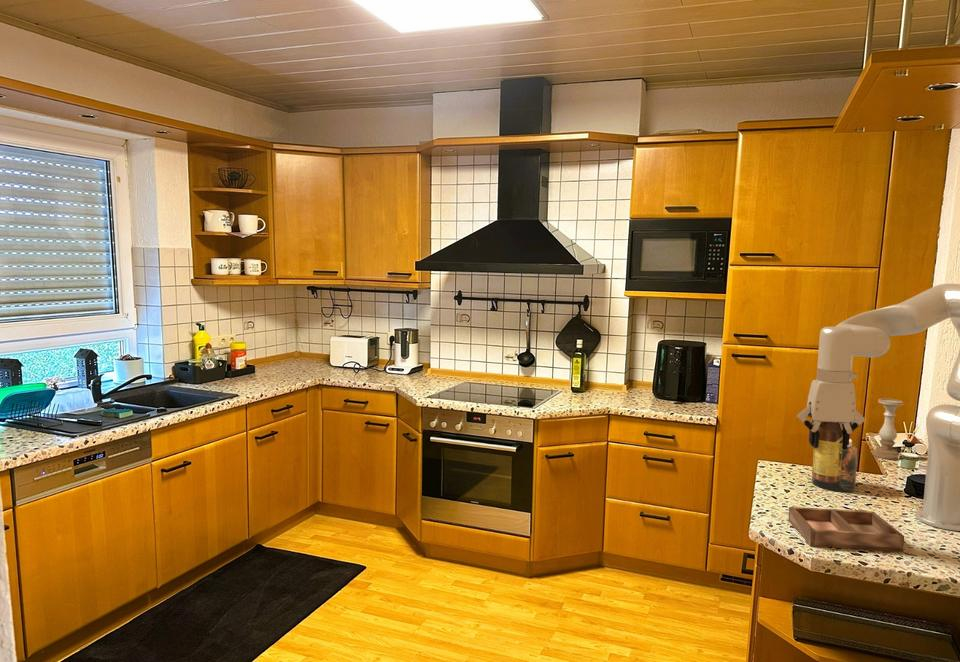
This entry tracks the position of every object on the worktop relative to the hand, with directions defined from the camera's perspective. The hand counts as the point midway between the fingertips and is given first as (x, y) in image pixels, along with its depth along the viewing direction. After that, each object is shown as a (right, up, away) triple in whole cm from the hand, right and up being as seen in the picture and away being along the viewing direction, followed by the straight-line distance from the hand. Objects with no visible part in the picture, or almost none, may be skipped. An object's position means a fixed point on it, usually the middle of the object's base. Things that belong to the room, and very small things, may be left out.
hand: (828, 446), depth 158 cm
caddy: (+4, -23, +1) cm, 23 cm away
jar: (+22, -19, +38) cm, 48 cm away
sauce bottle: (0, -9, +1) cm, 9 cm away
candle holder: (+58, -16, +68) cm, 91 cm away
